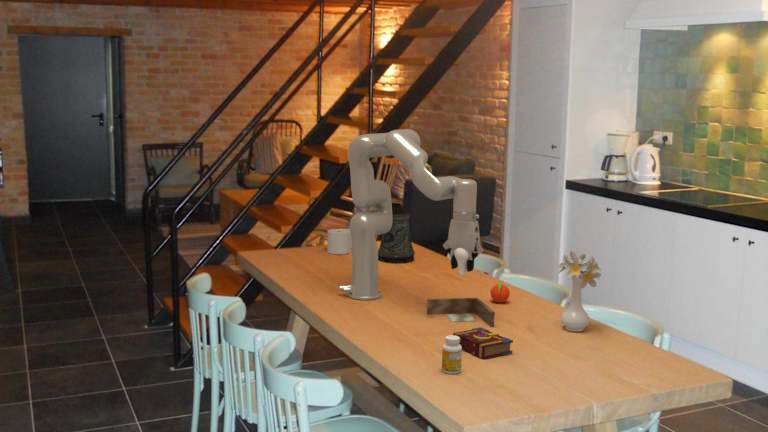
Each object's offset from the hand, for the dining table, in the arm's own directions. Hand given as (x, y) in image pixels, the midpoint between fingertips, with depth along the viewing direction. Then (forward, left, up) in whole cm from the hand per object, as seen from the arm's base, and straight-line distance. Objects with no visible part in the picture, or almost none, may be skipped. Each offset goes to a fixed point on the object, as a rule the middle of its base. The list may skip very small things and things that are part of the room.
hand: (462, 269), depth 283 cm
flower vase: (+34, -18, -17) cm, 42 cm away
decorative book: (-4, -32, -18) cm, 37 cm away
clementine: (+20, +17, -17) cm, 32 cm away
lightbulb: (0, 0, -3) cm, 3 cm away
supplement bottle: (-18, -49, -17) cm, 55 cm away
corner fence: (-1, -1, -17) cm, 17 cm away
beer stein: (-3, +92, -17) cm, 94 cm away
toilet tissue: (-24, +111, -17) cm, 115 cm away
